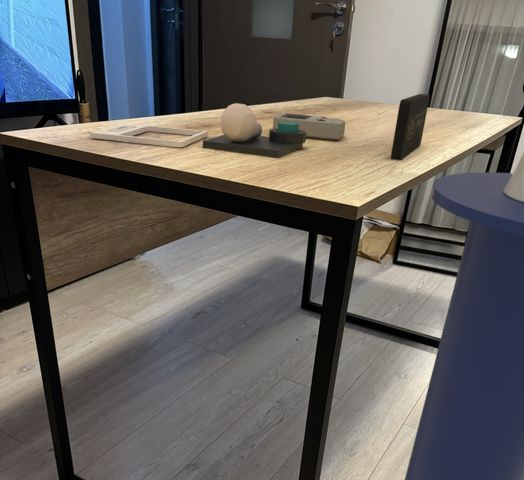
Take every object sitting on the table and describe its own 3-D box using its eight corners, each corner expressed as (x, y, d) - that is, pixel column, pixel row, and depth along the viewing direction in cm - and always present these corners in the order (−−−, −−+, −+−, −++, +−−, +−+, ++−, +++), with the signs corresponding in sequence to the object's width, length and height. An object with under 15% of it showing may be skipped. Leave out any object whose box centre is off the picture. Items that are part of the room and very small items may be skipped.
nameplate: (411, 144, 115) (420, 93, 110) (420, 145, 114) (430, 94, 109) (390, 159, 98) (400, 100, 93) (400, 161, 98) (411, 101, 92)
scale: (309, 147, 105) (310, 130, 104) (283, 158, 93) (284, 140, 92) (235, 137, 110) (236, 121, 109) (202, 147, 98) (202, 130, 97)
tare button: (301, 132, 103) (301, 123, 102) (294, 135, 100) (294, 125, 99) (281, 130, 104) (282, 120, 103) (274, 132, 101) (274, 122, 100)
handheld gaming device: (339, 142, 113) (341, 122, 111) (271, 134, 116) (273, 115, 114) (344, 136, 120) (347, 118, 118) (281, 130, 123) (282, 112, 121)
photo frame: (125, 122, 111) (207, 130, 108) (125, 128, 112) (207, 136, 109) (89, 131, 99) (181, 140, 96) (90, 137, 100) (181, 147, 96)
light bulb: (250, 108, 104) (220, 93, 94) (278, 119, 102) (250, 105, 92) (238, 142, 106) (208, 131, 97) (265, 153, 104) (237, 144, 94)
